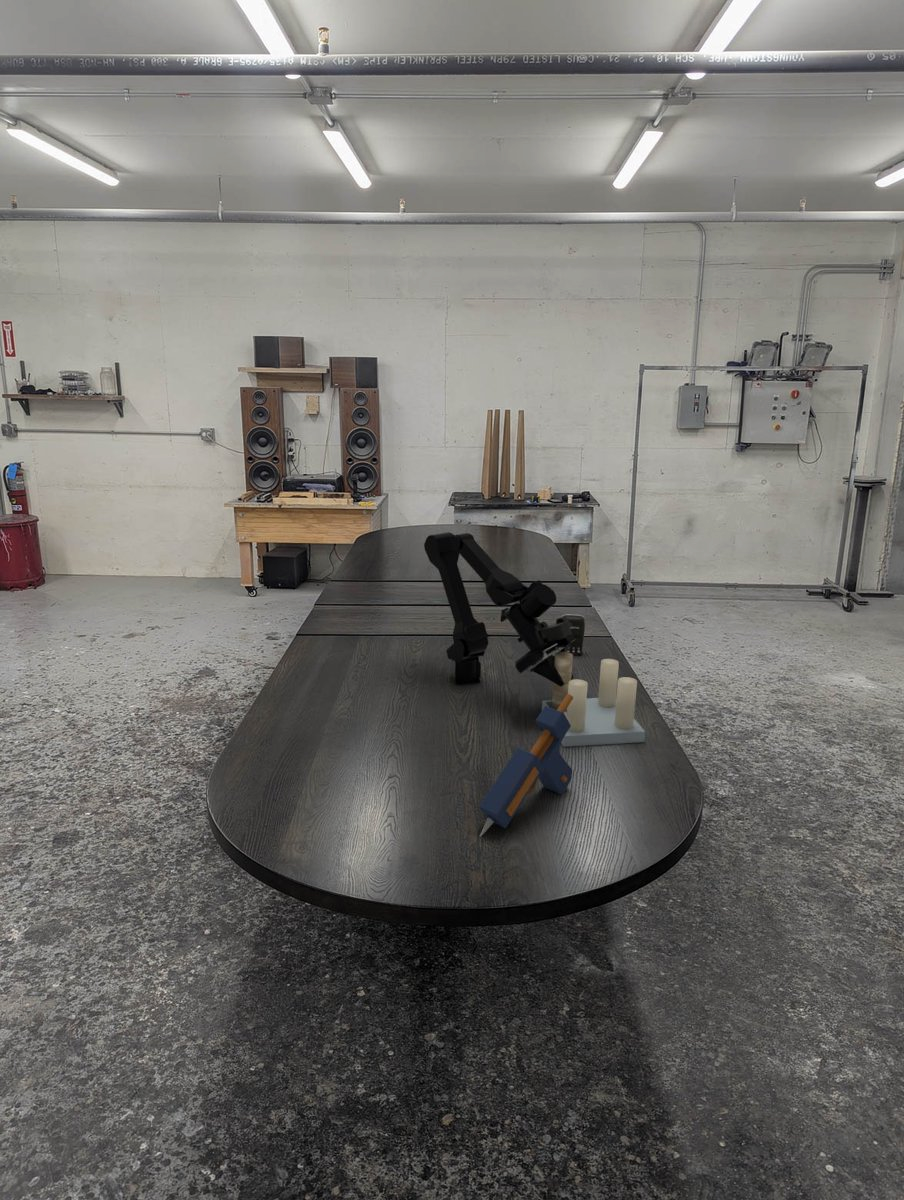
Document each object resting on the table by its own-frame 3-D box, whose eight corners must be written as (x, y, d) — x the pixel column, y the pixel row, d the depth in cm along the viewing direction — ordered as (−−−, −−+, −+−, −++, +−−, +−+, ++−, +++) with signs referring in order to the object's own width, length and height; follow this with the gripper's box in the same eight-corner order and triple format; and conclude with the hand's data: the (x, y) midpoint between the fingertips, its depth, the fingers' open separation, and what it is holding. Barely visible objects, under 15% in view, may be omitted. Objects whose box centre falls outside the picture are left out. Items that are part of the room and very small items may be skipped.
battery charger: (558, 655, 208) (560, 617, 205) (558, 650, 212) (560, 613, 209) (583, 657, 208) (586, 618, 204) (582, 652, 211) (585, 614, 208)
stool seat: (563, 746, 157) (567, 690, 153) (541, 710, 174) (544, 658, 170) (644, 741, 159) (649, 686, 155) (614, 706, 176) (619, 655, 172)
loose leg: (555, 711, 168) (558, 658, 164) (549, 704, 172) (552, 652, 168) (571, 710, 169) (575, 657, 165) (565, 703, 173) (568, 651, 169)
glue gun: (498, 864, 135) (466, 826, 125) (569, 726, 148) (546, 683, 139) (525, 876, 131) (495, 839, 121) (596, 734, 145) (574, 690, 135)
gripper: (529, 618, 159) (571, 678, 156) (570, 598, 173) (610, 653, 170) (497, 644, 165) (537, 702, 162) (539, 623, 180) (577, 676, 177)
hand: (567, 682), depth 168 cm, fingers closed on loose leg, 4 cm apart
